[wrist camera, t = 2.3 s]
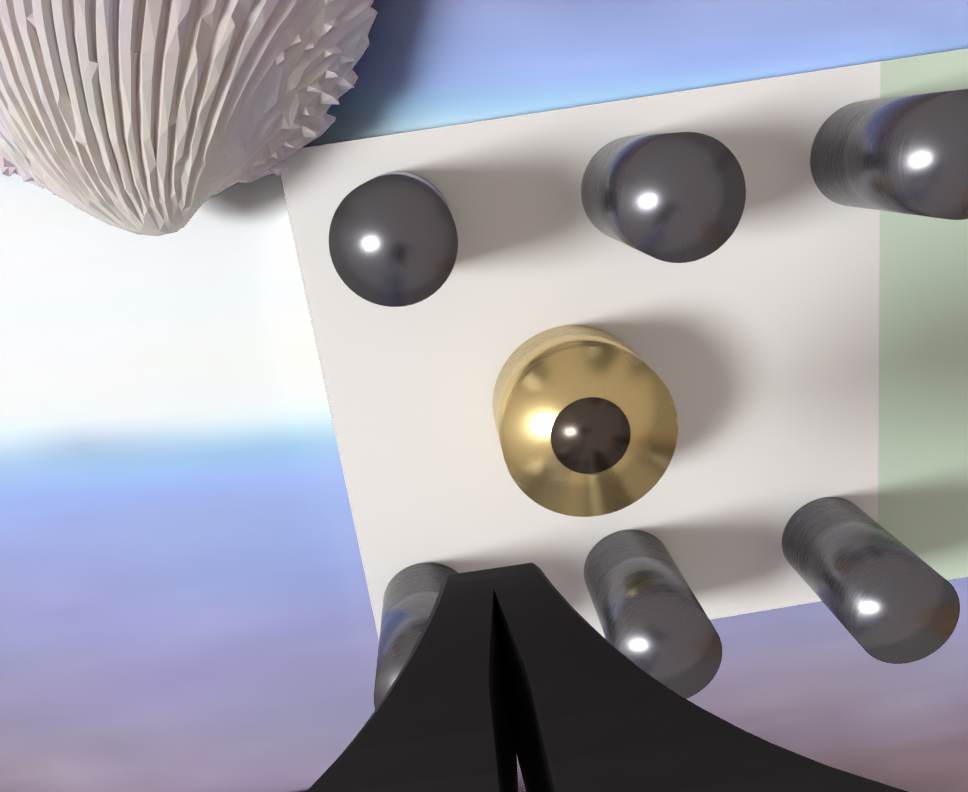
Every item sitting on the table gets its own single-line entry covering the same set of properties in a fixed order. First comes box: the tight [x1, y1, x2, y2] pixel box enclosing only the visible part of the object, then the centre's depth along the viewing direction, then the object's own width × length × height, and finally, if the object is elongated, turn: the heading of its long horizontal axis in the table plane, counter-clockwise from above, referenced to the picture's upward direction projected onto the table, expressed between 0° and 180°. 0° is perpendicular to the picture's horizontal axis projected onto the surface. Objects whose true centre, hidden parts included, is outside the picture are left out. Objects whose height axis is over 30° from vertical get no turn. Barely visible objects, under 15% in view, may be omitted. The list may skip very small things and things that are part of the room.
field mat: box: [280, 48, 968, 638], centre depth 21 cm, size 14×20×1 cm
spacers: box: [329, 89, 968, 710], centre depth 18 cm, size 12×14×4 cm
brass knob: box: [492, 325, 678, 517], centre depth 19 cm, size 4×4×3 cm
